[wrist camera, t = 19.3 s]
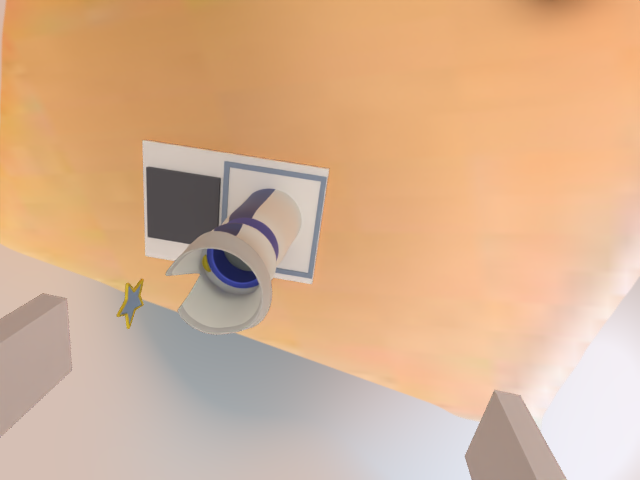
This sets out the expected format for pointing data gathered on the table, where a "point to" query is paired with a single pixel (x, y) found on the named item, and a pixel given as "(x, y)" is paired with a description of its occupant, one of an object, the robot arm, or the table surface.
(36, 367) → the robot arm
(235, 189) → the stamp station
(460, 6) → the table surface
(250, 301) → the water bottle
